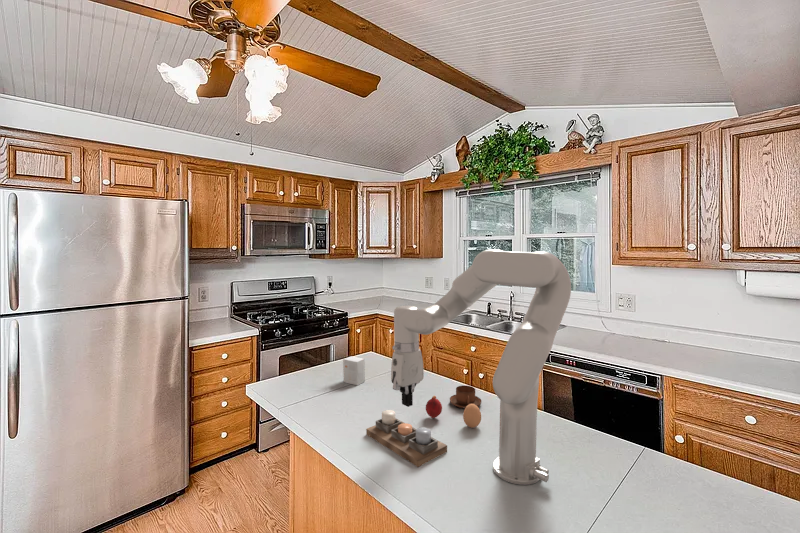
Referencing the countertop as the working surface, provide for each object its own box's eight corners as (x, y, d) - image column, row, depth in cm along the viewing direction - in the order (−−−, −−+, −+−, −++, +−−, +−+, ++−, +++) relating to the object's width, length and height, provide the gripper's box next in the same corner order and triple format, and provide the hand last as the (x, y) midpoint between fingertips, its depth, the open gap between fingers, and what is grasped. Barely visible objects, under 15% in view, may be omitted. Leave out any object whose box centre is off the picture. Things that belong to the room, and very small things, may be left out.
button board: (447, 451, 115) (447, 438, 114) (417, 467, 107) (417, 453, 107) (394, 423, 133) (394, 412, 133) (366, 434, 125) (366, 422, 125)
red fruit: (441, 422, 133) (441, 400, 133) (424, 421, 135) (424, 398, 134) (442, 415, 139) (442, 393, 139) (426, 413, 140) (426, 392, 140)
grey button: (433, 441, 113) (433, 431, 113) (423, 446, 110) (423, 436, 110) (423, 435, 117) (423, 426, 116) (412, 440, 114) (412, 430, 114)
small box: (365, 381, 172) (365, 358, 172) (357, 385, 168) (357, 361, 167) (351, 378, 177) (351, 355, 176) (343, 382, 172) (343, 358, 171)
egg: (481, 432, 127) (481, 408, 126) (462, 430, 128) (462, 407, 127) (481, 423, 133) (481, 401, 132) (463, 422, 134) (463, 399, 133)
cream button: (398, 422, 125) (398, 413, 125) (387, 426, 123) (387, 417, 122) (389, 417, 129) (389, 408, 129) (379, 421, 126) (379, 412, 126)
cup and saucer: (487, 408, 145) (487, 392, 145) (459, 413, 141) (459, 397, 141) (470, 396, 157) (470, 381, 156) (444, 401, 152) (444, 385, 152)
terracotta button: (415, 436, 119) (415, 426, 119) (404, 441, 117) (404, 431, 116) (405, 431, 123) (405, 421, 123) (395, 435, 120) (395, 426, 120)
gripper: (396, 353, 111) (397, 416, 112) (432, 344, 121) (432, 401, 122) (379, 348, 117) (380, 408, 118) (415, 340, 127) (416, 395, 128)
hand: (407, 404), depth 120 cm, fingers closed
